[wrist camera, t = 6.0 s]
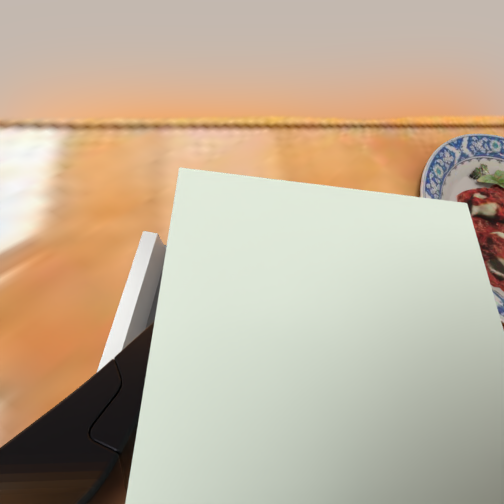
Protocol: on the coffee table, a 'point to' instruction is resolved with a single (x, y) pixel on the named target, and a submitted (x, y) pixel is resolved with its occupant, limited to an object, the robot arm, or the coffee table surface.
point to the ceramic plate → (474, 194)
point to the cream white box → (320, 351)
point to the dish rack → (137, 296)
